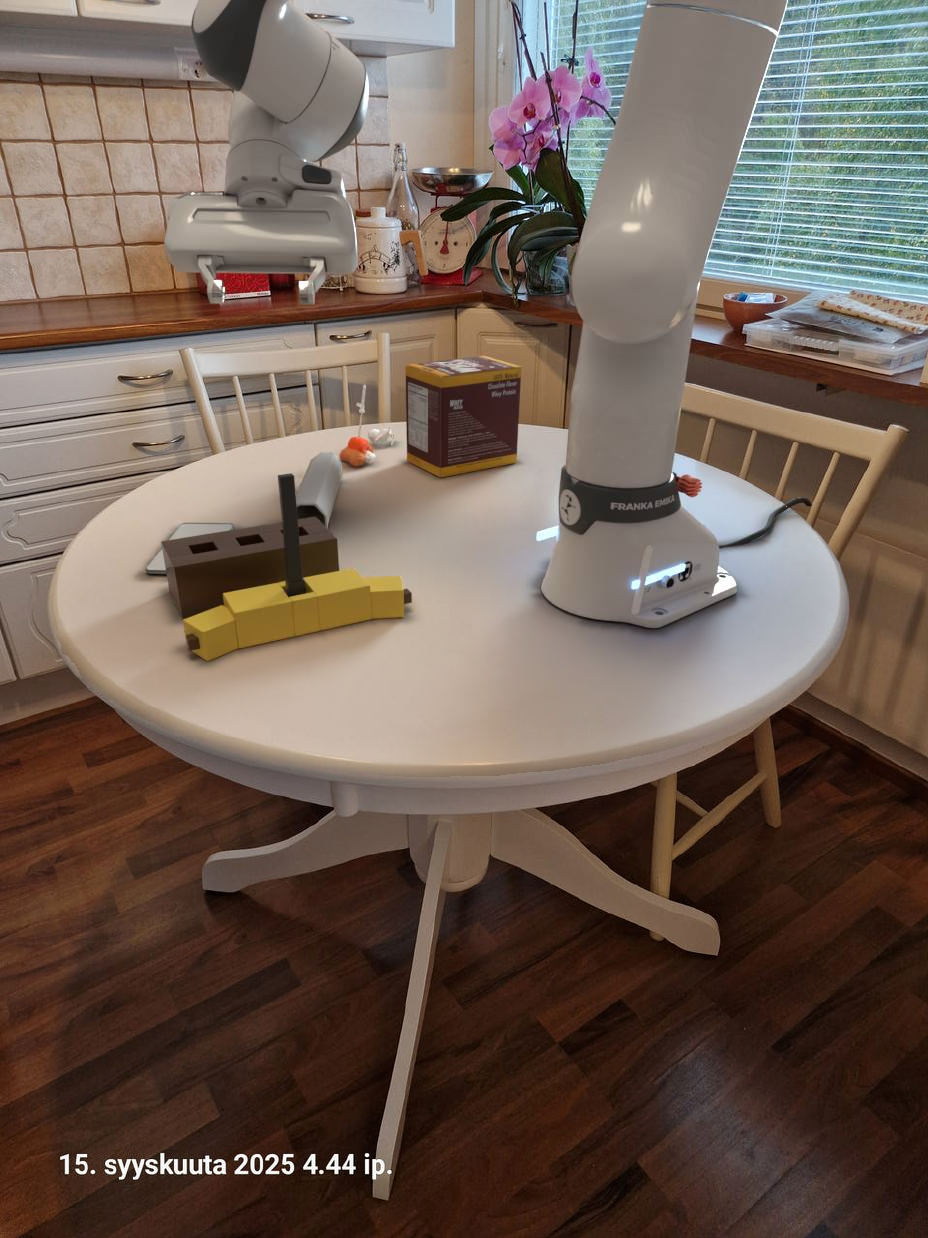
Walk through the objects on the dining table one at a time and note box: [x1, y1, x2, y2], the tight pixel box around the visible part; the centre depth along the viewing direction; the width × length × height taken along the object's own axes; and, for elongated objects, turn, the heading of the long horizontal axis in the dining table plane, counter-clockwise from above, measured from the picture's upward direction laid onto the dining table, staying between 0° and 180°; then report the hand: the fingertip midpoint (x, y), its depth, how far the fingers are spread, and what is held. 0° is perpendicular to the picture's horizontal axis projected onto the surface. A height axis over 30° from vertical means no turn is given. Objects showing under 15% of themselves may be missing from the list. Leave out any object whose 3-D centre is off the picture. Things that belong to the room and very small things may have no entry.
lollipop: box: [339, 384, 376, 467], centre depth 132 cm, size 6×10×12 cm, turn 177°
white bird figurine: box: [367, 422, 397, 447], centre depth 142 cm, size 8×5×5 cm, turn 177°
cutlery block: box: [160, 517, 340, 620], centre depth 90 cm, size 7×17×6 cm, turn 118°
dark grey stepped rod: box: [277, 473, 306, 597], centre depth 81 cm, size 2×1×16 cm, turn 118°
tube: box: [296, 452, 343, 530], centre depth 114 cm, size 5×5×25 cm
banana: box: [182, 567, 413, 662], centre depth 84 cm, size 6×23×4 cm, turn 118°
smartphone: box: [144, 522, 235, 575], centre depth 101 cm, size 7×1×15 cm
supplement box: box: [404, 355, 522, 478], centre depth 131 cm, size 10×15×16 cm
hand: (261, 300), depth 86 cm, fingers open, 8 cm apart
